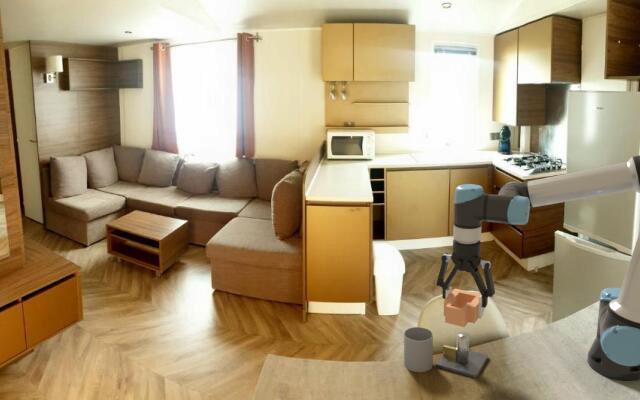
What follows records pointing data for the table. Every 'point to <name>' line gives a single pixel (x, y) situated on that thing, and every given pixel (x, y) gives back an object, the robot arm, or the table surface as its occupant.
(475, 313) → the orange bottle-shaped mold
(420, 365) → the cup
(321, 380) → the table surface
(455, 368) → the post base
